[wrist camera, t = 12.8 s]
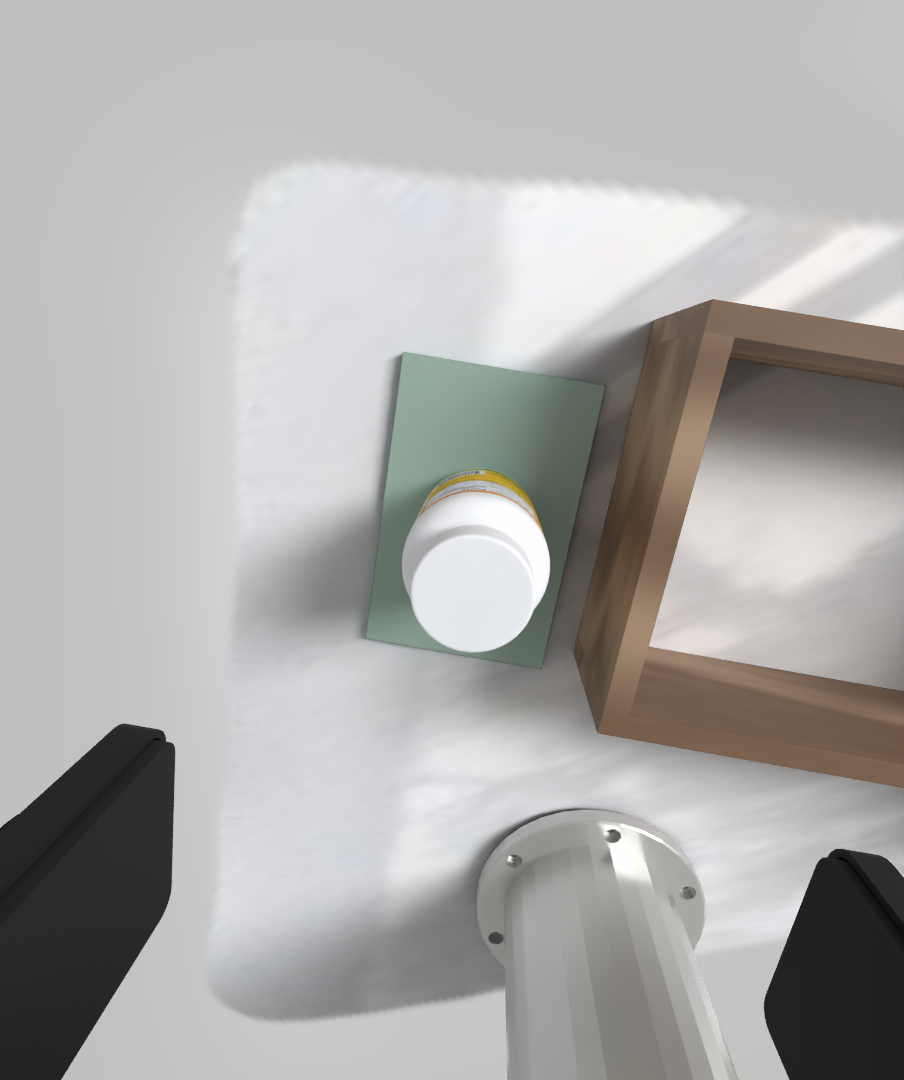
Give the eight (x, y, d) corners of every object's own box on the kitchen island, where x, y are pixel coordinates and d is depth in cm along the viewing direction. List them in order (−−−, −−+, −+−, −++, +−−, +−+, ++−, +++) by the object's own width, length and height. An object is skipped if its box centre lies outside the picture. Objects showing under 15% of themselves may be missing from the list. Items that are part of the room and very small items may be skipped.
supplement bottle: (499, 595, 29) (504, 702, 19) (402, 543, 28) (358, 625, 19) (557, 501, 27) (593, 566, 18) (456, 444, 27) (437, 480, 17)
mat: (540, 664, 30) (541, 669, 29) (367, 634, 30) (365, 638, 30) (603, 385, 26) (605, 385, 26) (404, 352, 26) (403, 351, 26)
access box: (1009, 728, 29) (1164, 834, 22) (573, 652, 30) (597, 733, 23) (1167, 405, 25) (1420, 415, 18) (653, 320, 25) (712, 299, 18)
